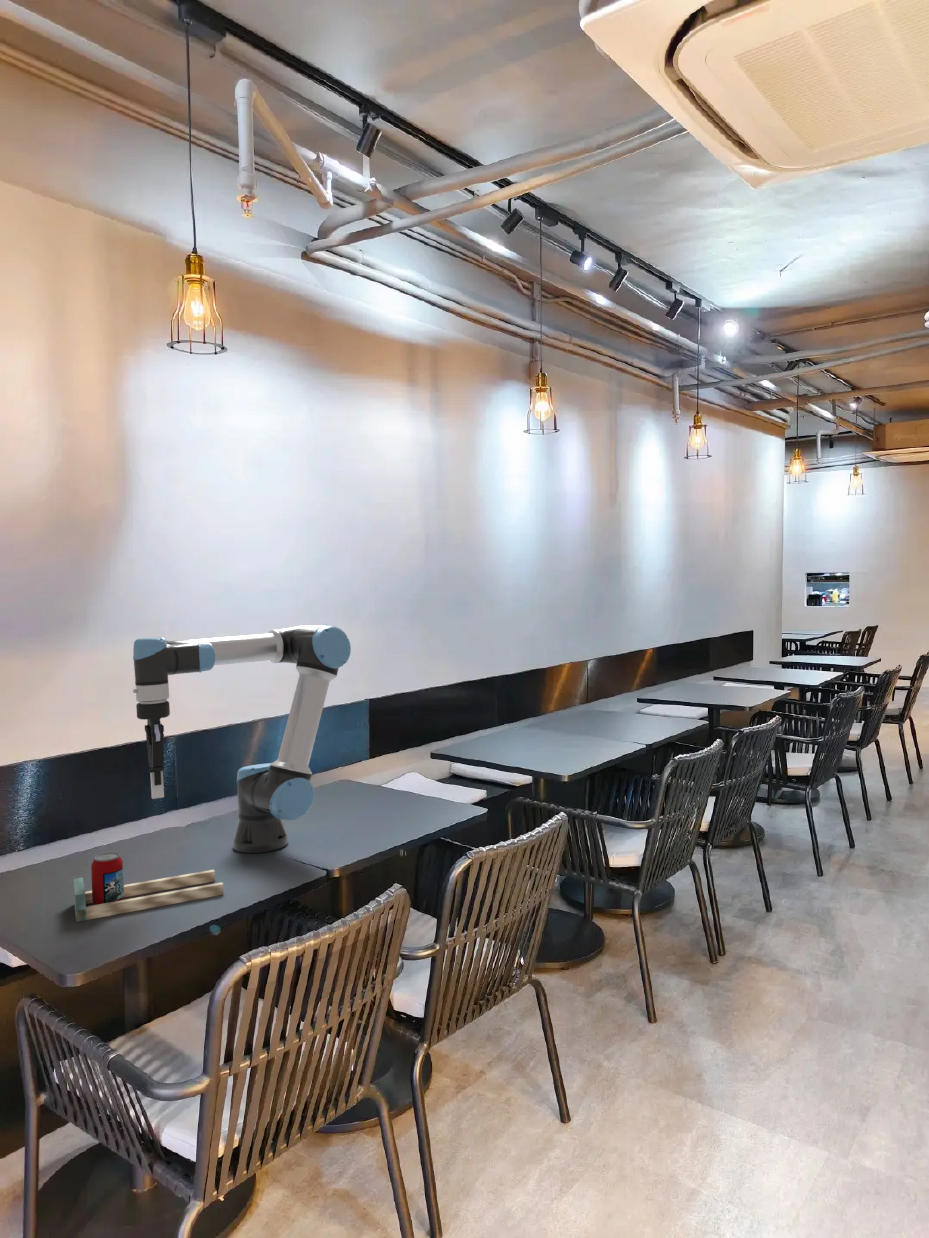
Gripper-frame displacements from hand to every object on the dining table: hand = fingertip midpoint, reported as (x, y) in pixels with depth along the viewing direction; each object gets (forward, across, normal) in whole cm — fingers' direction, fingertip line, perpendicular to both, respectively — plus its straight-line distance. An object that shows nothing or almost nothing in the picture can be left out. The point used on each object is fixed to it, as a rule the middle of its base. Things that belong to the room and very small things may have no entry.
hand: (157, 797), depth 202 cm
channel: (+23, +6, -4) cm, 24 cm away
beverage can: (+23, +6, -13) cm, 27 cm away
